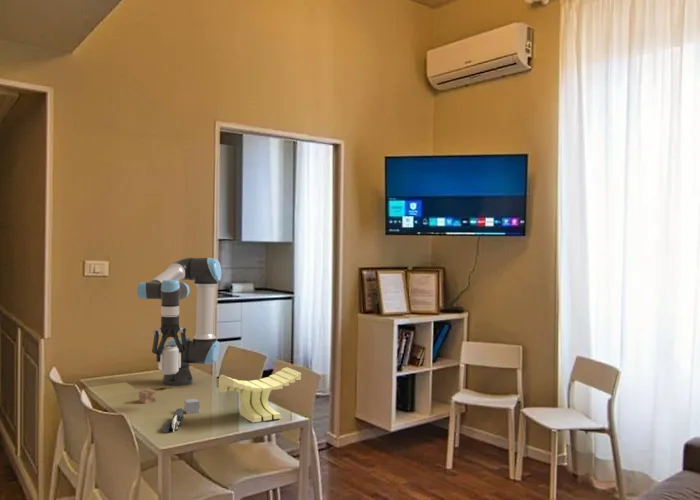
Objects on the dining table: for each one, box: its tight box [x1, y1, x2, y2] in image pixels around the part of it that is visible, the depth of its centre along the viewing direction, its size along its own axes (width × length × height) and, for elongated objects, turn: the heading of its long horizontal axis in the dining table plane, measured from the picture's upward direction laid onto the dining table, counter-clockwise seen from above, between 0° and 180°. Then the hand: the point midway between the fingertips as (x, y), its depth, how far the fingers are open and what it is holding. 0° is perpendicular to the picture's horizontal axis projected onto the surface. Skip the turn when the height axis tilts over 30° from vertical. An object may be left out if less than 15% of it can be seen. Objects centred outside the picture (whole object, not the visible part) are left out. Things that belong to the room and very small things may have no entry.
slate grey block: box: [183, 398, 200, 415], centre depth 254 cm, size 5×5×5 cm
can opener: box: [161, 408, 185, 434], centre depth 235 cm, size 19×6×5 cm, turn 5°
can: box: [160, 344, 179, 375], centre depth 261 cm, size 8×8×12 cm
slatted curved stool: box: [218, 366, 302, 423], centre depth 251 cm, size 30×16×18 cm, turn 123°
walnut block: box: [138, 389, 157, 404], centre depth 268 cm, size 5×5×5 cm
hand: (169, 368), depth 261 cm, fingers closed on can, 7 cm apart
